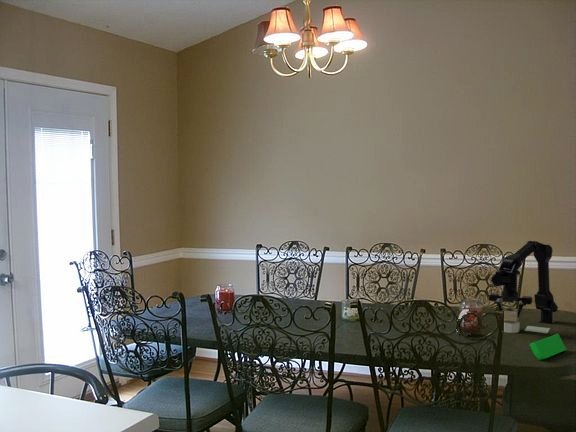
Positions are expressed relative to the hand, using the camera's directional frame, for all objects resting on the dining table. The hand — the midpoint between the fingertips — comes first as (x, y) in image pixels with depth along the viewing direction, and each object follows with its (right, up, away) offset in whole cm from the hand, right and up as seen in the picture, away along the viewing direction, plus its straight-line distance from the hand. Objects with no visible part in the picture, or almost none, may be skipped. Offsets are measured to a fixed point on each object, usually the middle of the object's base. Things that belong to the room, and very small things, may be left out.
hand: (510, 316), depth 270 cm
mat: (+14, -7, +2) cm, 15 cm away
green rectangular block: (-1, -10, -34) cm, 36 cm away
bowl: (0, -7, 0) cm, 7 cm away
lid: (0, -1, 0) cm, 1 cm away
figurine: (-23, -8, -5) cm, 24 cm away
